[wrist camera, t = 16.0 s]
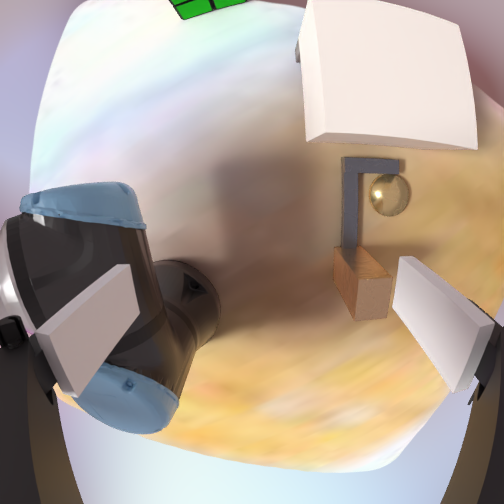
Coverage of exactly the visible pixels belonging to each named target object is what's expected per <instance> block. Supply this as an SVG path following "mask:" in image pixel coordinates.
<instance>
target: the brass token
mask: <svg viewBox="0 0 504 504" xmlns="http://www.w3.org/2000/svg"><path fill="white" fill-rule="evenodd" d="M369 199H370V203H371V205H372V207H373V208H374V209H375V210H376V211H377V212H378V213H380V214H382V215H384V216H395V215H397V214H399V213H401V212H402V211H403V210H404V208H405V207H406V205H407V202H408V189H407V186H406V184H405V182H404V181H403V180H402V179H401V178H400V177H398V176H396V175H393V174H383V175H380V176H378V177H377V178H376V179H375V180H374V181H373V182H372V184H371V186H370V190H369Z"/></svg>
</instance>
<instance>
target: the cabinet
mask: <svg viewBox="0 0 504 504" xmlns="http://www.w3.org/2000/svg"><path fill="white" fill-rule="evenodd" d="M295 55H296V62H299V63H301V71H302V83H303V97H304V112H305V130H306V142H325V143H353V144H371V145H384V146H396V147H406V148H415V149H423V150H430V149H460V150H478V142H477V125H476V114H475V105H474V97H473V90H472V83H471V77H470V72H469V68H468V62H467V57H466V53H465V49H464V44H463V40H462V37H461V33H460V29H459V26H458V25H457V24H454V23H452V22H449V21H447V20H444V19H441V18H438V17H436V16H432V15H430V14H427V13H424V12H420V11H417V10H414V9H410V8H407V7H403V6H399V5H395V4H391V3H387V2H382V1H378V0H308V2H307V6H306V10H305V14H304V17H303V21H302V25H301V29H300V33H299V37H298V41H297V45H296V49H295Z"/></svg>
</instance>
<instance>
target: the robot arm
mask: <svg viewBox="0 0 504 504" xmlns="http://www.w3.org/2000/svg"><path fill="white" fill-rule="evenodd" d="M19 208H20V211H21V212H22V214H20V215H17V216H15V217H12V218H9V219H7V220H5V222H4V224H3V226H2V228H1V230H0V345H1V348H0V504H84V503H83V501H82V498H81V495H80V492H79V489H78V487H77V484H76V481H75V477H74V474H73V471H72V467H71V464H70V460H69V456H68V453H67V448H66V445H65V440H64V436H63V431H62V426H61V421H60V416H59V409H58V403H57V396H56V393H55V391H54V389H53V386H54V385H55V384H56V382H57V383H58V385H59V387H60V389H61V390H62V392H63V394H66V395H69V396H71V397H72V398H73V399H74V401H75V402H76V403H77V404H78V405H79V406H80V407H81V408H82V409H83V410H85V411H86V412H87V413H88V414H90V415H91V416H92V417H94V418H96V419H97V420H99V421H101V422H103V423H104V424H106V425H108V426H111V427H113V428H116V429H118V430H121V431H125V432H129V433H134V434H152V433H156V432H158V431H161V430H162V429H163V428H165V427H166V426H167V425H168V424H169V423H170V421H171V419H172V417H173V415H174V413H175V411H176V409H177V408H178V406H179V399H180V396H181V393H182V390H183V387H184V384H185V381H186V378H187V375H188V373H189V370H190V367H191V364H192V361H193V358H194V355H195V352H196V351H197V350H198V349H199V348H200V347H202V346H203V345H204V344H206V343H207V342H208V341H209V340H210V339H211V337H212V336H213V334H214V333H215V331H216V328H217V325H218V322H219V318H220V302H219V298H218V295H217V293H216V291H215V289H214V287H213V285H212V284H211V283H210V281H209V280H208V279H207V278H206V277H205V276H204V275H203V274H202V273H201V272H199V271H198V270H196V269H195V268H193V267H191V266H189V265H187V264H185V263H181V262H178V261H171V260H163V261H157V262H154V263H153V261H152V257H151V253H150V249H149V245H148V240H147V236H146V231H145V229H146V224H145V223H144V222H143V219H142V215H141V212H140V208H139V204H138V200H137V196H136V194H135V192H134V190H133V189H132V188H131V187H130V186H128V185H127V184H124V183H121V182H97V183H86V184H77V185H70V186H63V187H58V188H52V189H48V190H44V191H41V192H37V193H31V194H28V195H26V196H24V197H23V198H22V199H21V205H20V207H19ZM392 308H393V309H394V310H395V312H396V313H397V314H398V316H399V317H400V318H401V320H402V321H403V322H404V324H405V325H406V326H407V328H408V329H409V330H410V332H411V333H412V335H413V336H414V337H415V339H416V340H417V341H418V343H419V344H420V346H421V347H422V349H423V350H424V351H425V353H426V354H427V356H428V357H429V359H430V360H431V361H432V363H433V364H434V366H435V367H436V369H437V370H438V372H439V373H440V375H441V376H442V378H443V379H444V381H445V382H446V384H447V385H448V387H449V388H450V390H451V392H452V393H456V392H460V391H463V390H466V389H468V388H469V386H470V384H471V382H472V380H473V378H474V376H476V378H477V379H478V380H479V383H478V385H477V387H476V389H475V391H474V393H473V395H472V397H471V398H470V400H469V402H468V405H470V404H471V402H472V401H473V404H472V409H471V414H470V418H469V422H468V426H467V430H466V434H465V437H464V441H463V444H462V448H461V451H460V454H459V457H458V460H457V463H456V466H455V469H454V472H453V475H452V477H451V480H450V482H449V485H448V487H447V490H446V492H445V494H444V497H443V499H442V501H441V503H440V504H504V327H502V326H501V325H499V324H498V323H497V322H496V321H495V320H494V319H493V318H492V317H491V316H489V315H488V314H487V313H485V311H484V310H482V309H481V308H479V306H478V305H477V304H475V303H474V302H473V301H472V300H470V299H468V298H466V297H465V296H463V295H462V294H461V293H460V292H459V291H457V290H456V289H455V288H454V287H452V286H451V285H450V284H449V283H447V282H446V281H445V280H444V279H442V278H441V277H440V276H439V275H437V274H436V273H435V272H433V271H432V270H431V269H429V268H428V267H427V266H425V265H424V264H423V263H421V262H420V261H419V260H417V259H416V258H415V257H413V256H400V257H399V265H398V273H397V280H396V287H395V294H394V300H393V306H392ZM27 332H28V333H30V334H32V335H31V336H30V337H28V334H27Z"/></svg>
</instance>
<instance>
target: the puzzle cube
mask: <svg viewBox="0 0 504 504" xmlns="http://www.w3.org/2000/svg"><path fill="white" fill-rule="evenodd" d="M169 1H170V3H171V4H172V5H173V7H174V9H175V10H176V12H177V13H178V15H179V16H180V18H181V19H183V20H185V19H188V18H191V17H194V16H197V15H200V14H203V13H206V12H209V11H213V9H219V8H223V7H227V6H231V5H235V4H239V3H243V2H246V1H247V0H169Z"/></svg>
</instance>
